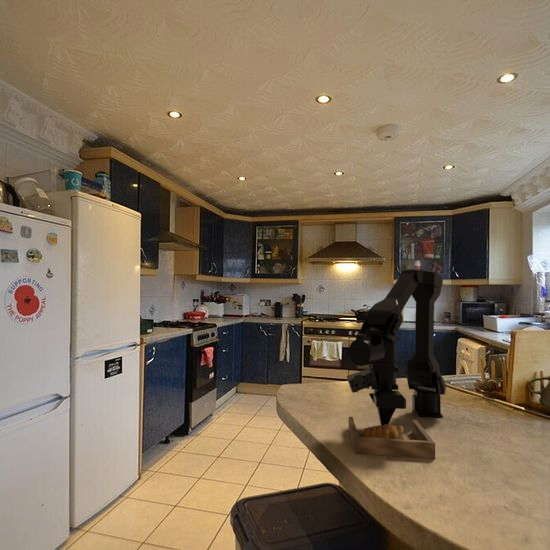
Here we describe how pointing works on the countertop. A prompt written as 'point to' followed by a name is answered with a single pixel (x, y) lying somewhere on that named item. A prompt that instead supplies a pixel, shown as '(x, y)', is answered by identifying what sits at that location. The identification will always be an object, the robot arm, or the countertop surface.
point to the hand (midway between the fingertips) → (383, 427)
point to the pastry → (384, 432)
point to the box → (394, 443)
